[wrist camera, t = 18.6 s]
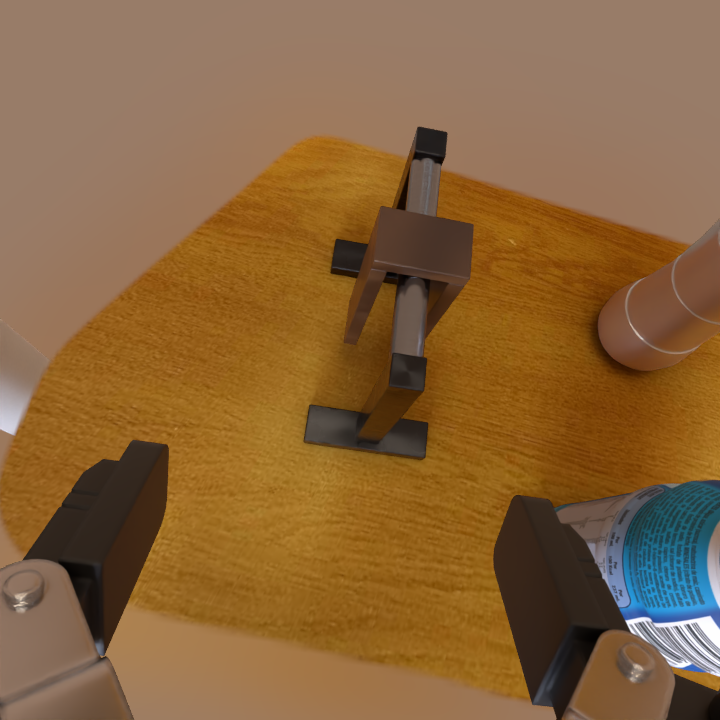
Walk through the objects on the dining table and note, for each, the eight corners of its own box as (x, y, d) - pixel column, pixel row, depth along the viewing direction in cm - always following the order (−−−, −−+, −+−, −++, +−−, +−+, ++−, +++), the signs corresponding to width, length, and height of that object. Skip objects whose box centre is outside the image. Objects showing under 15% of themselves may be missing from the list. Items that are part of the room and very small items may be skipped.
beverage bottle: (503, 513, 38) (719, 472, 19) (617, 492, 39) (923, 435, 21) (536, 652, 36) (822, 761, 17) (657, 625, 37) (1045, 696, 18)
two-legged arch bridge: (343, 343, 37) (373, 260, 26) (349, 300, 38) (380, 205, 27) (413, 355, 37) (470, 278, 27) (418, 312, 38) (474, 223, 28)
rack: (303, 442, 38) (314, 383, 25) (334, 245, 43) (358, 107, 30) (422, 460, 38) (494, 411, 25) (439, 263, 43) (507, 136, 30)
